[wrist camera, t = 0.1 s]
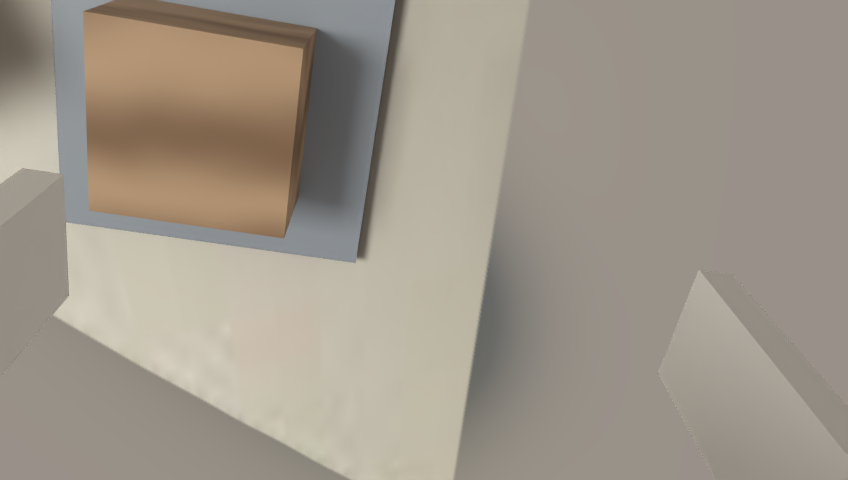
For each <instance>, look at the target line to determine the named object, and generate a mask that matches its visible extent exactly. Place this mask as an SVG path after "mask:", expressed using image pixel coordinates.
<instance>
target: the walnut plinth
mask: <svg viewBox="0 0 848 480" xmlns="http://www.w3.org/2000/svg"><path fill="white" fill-rule="evenodd" d="M83 27H84V61H85V95H86V128H87V162H88V196H89V211H95V212H102V213H109V214H116V215H123V216H130V217H137V218H144V219H151V220H158V221H165V222H172V223H179V224H186V225H193V226H200V227H207V228H214V229H221V230H228V231H235V232H242V233H249V234H256V235H263V236H270V237H277V238H284V237H285V235H286V232H287V229H288V226H289V223H290V220H291V217H292V214H293V211H294V208H295V205H296V202H297V199H298V196H299V189H300V179H301V170H302V161H303V151H304V142H305V133H306V124H307V114H308V105H309V96H310V86H311V77H312V68H313V58H314V49H315V40H316V31H317V28H314V27H308V26H302V25H296V24H291V23H285V22H279V21H273V20H268V19H262V18H256V17H250V16H245V15H239V14H233V13H227V12H222V11H216V10H210V9H204V8H199V7H193V6H187V5H181V4H176V3H170V2H164V1H158V0H114V1H111V2H108V3H105V4H102V5H99V6H97V7H94V8H91V9H88V10H85V11H83Z"/></svg>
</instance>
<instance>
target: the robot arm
mask: <svg viewBox="0 0 848 480" xmlns="http://www.w3.org/2000/svg"><path fill="white" fill-rule="evenodd" d="M68 296H69V284H68V262H67V240H66V218H65V196H64V174H57V173H50V172H44V171H37V170H30V169H24V168H22V169H21V170H20V171H18V172H17V173H15V174H14V175H13V176H11V177H10V178H8V179H7V180H6V181H4V182H3V183H1V184H0V377H1V376H2V375H3V374H4V372H5V371H6V370H7V369H8V367H9V366H10V365H11V364H12V363H13V362H14V360H15V359H16V358H17V357H18V356H19V354H20V353H21V352H22V351H23V350H24V348H25V347H26V346H27V345H28V344H29V342H30V341H31V340H32V339H33V338H34V336H35V335H36V334H37V333H38V332H39V331H40V329H41V328H42V327H43V326H44V324H45V323H46V322H47V321H48V319H50V317H51V316H52V315H53V314H54V313H55V311H56V310H57V309H58V308H59V307H60V305H61V304H62V303H63V302H64V301H65V299H66V298H67V297H68ZM658 374H659V376H660V378H661V380H662V382H663V384H664V385H665V387H666V389H667V391H668V393H669V395H670V396H671V398H672V400H673V402H674V404H675V406H676V408H677V409H678V411H679V413H680V415H681V417H682V419H683V421H684V422H685V424H686V426H687V428H688V430H689V432H690V434H691V436H692V437H693V439H694V441H695V443H696V445H697V447H698V449H699V450H700V452H701V454H702V456H703V458H704V460H705V461H706V463H707V465H708V467H709V469H710V471H711V473H712V474H713V476H714V478H715V480H848V406H847V404H846V403H845V402H844V401H843V400H842V399H841V398H840V396H839V395H838V394H837V393H836V392H835V391H834V390H833V389H832V388H831V386H830V385H829V384H828V383H827V382H826V381H825V379H824V378H823V377H822V376H821V375H820V374H819V373H818V371H817V370H816V369H815V368H814V367H813V366H812V365H811V363H810V362H809V361H808V360H807V359H806V358H805V357H804V355H803V354H802V353H801V352H800V351H799V350H798V349H797V348H796V346H795V345H794V344H793V343H792V342H791V341H790V340H789V338H788V337H787V336H786V335H785V334H784V333H783V332H782V330H781V329H780V328H779V327H778V326H777V325H776V324H775V322H774V321H773V320H772V319H771V318H770V317H769V316H768V314H767V313H766V312H765V311H764V310H763V309H762V308H761V307H760V305H759V304H758V303H757V302H756V301H755V300H754V299H753V297H752V296H751V295H750V294H749V293H748V292H747V291H746V289H745V288H744V287H743V286H742V285H741V284H740V283H739V281H738V280H737V279H736V278H735V277H734V276H733V275H732V274H726V273H718V272H712V271H706V270H699V271H698V273H697V276H696V278H695V281H694V283H693V286H692V288H691V291H690V293H689V296H688V298H687V301H686V304H685V306H684V309H683V311H682V314H681V317H680V319H679V321H678V324H677V326H676V329H675V332H674V334H673V337H672V339H671V342H670V344H669V347H668V349H667V352H666V355H665V357H664V360H663V362H662V365H661V367H660V370H659V373H658Z"/></svg>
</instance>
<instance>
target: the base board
mask: <svg viewBox="0 0 848 480" xmlns="http://www.w3.org/2000/svg"><path fill="white" fill-rule="evenodd" d="M111 1H114V0H51V3H52V24H53V45H54V66H55V87H56V108H57V129H58V150H59V171H60V174H64V196H65V218H66V222H68V223H75V224H82V225H89V226H97V227H104V228H111V229H118V230H125V231H132V232H139V233H146V234H153V235H161V236H168V237H175V238H182V239H189V240H196V241H203V242H210V243H218V244H225V245H232V246H239V247H246V248H253V249H260V250H267V251H274V252H282V253H289V254H296V255H303V256H310V257H317V258H324V259H331V260H338V261H346V262H353V263H356V257H357V250H358V244H359V237H360V231H361V224H362V217H363V211H364V204H365V198H366V191H367V184H368V178H369V171H370V164H371V158H372V151H373V145H374V138H375V131H376V125H377V118H378V112H379V105H380V98H381V92H382V85H383V79H384V72H385V65H386V59H387V52H388V46H389V39H390V32H391V26H392V19H393V13H394V6H395V0H158V1H164V2H170V3H176V4H181V5H187V6H193V7H199V8H204V9H210V10H216V11H222V12H227V13H233V14H239V15H245V16H250V17H256V18H262V19H268V20H273V21H279V22H285V23H291V24H296V25H302V26H308V27H314V28H317V31H316V40H315V49H314V58H313V68H312V77H311V86H310V96H309V105H308V114H307V124H306V133H305V142H304V151H303V161H302V170H301V179H300V189H299V196H298V199H297V202H296V205H295V208H294V211H293V214H292V217H291V220H290V223H289V226H288V229H287V232H286V235H285V237H284V238H277V237H270V236H263V235H256V234H249V233H242V232H235V231H228V230H221V229H214V228H207V227H200V226H193V225H186V224H179V223H172V222H165V221H158V220H151V219H144V218H137V217H130V216H123V215H116V214H109V213H102V212H95V211H89V196H88V162H87V128H86V95H85V61H84V27H83V11H85V10H88V9H91V8H94V7H97V6H99V5H102V4H105V3H108V2H111Z"/></svg>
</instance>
